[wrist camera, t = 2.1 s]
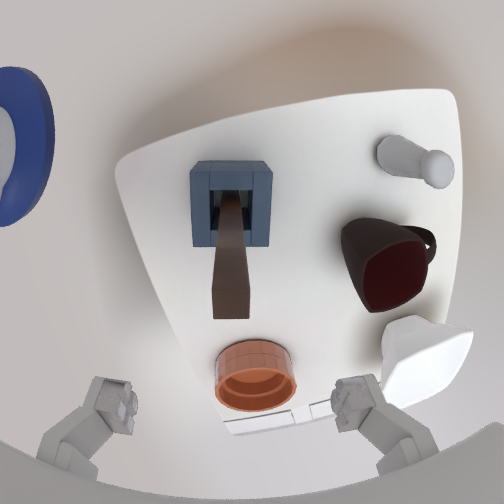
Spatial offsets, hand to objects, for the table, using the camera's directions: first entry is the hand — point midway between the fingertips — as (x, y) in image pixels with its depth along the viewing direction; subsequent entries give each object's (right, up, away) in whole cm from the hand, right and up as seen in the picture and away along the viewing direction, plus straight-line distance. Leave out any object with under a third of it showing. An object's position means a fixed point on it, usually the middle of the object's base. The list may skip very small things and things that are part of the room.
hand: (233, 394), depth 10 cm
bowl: (+31, -11, +41) cm, 53 cm away
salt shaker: (+20, +20, +25) cm, 38 cm away
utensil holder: (-2, +13, +27) cm, 30 cm away
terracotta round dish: (+1, -16, +41) cm, 45 cm away
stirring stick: (-2, +13, +27) cm, 30 cm away
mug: (+19, +9, +31) cm, 37 cm away
